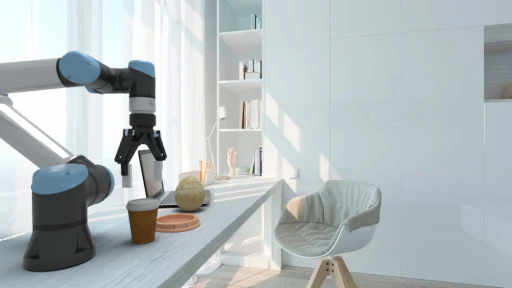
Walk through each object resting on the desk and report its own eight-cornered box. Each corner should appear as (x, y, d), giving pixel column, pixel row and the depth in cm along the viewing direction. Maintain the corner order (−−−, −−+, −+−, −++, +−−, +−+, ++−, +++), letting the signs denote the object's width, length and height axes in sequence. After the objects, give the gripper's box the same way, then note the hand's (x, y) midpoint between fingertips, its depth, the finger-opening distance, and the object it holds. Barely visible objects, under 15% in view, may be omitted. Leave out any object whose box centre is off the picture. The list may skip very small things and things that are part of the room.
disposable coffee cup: (149, 247, 83) (148, 204, 83) (119, 245, 85) (118, 203, 85) (165, 236, 93) (165, 198, 93) (138, 234, 95) (138, 197, 95)
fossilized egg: (195, 215, 119) (195, 178, 119) (168, 213, 123) (168, 177, 123) (210, 208, 132) (209, 175, 131) (185, 207, 135) (184, 174, 135)
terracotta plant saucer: (154, 235, 94) (154, 227, 94) (147, 222, 109) (147, 216, 109) (206, 228, 101) (206, 221, 101) (193, 217, 116) (193, 211, 116)
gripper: (121, 108, 76) (122, 191, 76) (177, 116, 99) (178, 179, 100) (98, 109, 78) (100, 190, 78) (158, 117, 102) (159, 178, 102)
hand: (143, 184), depth 89 cm, fingers open, 13 cm apart
